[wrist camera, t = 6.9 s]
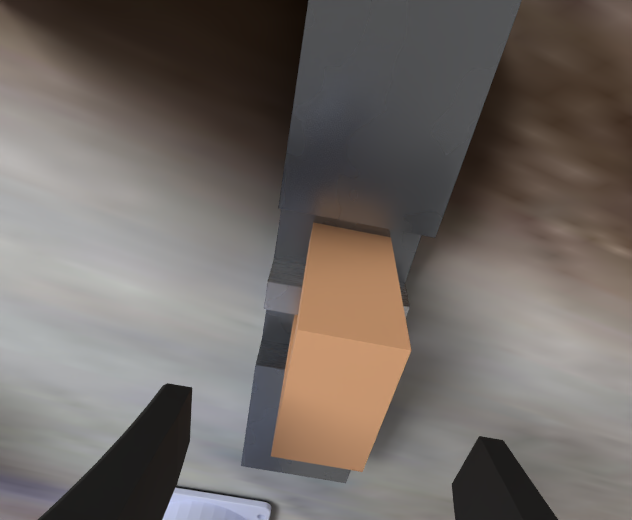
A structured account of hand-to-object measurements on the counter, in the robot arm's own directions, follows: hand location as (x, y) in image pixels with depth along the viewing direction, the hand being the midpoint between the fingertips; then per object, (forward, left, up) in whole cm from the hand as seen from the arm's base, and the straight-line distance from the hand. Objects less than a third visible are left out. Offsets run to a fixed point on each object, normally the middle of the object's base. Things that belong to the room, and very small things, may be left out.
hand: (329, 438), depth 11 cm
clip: (0, 0, -7) cm, 7 cm away
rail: (0, 0, -8) cm, 8 cm away
